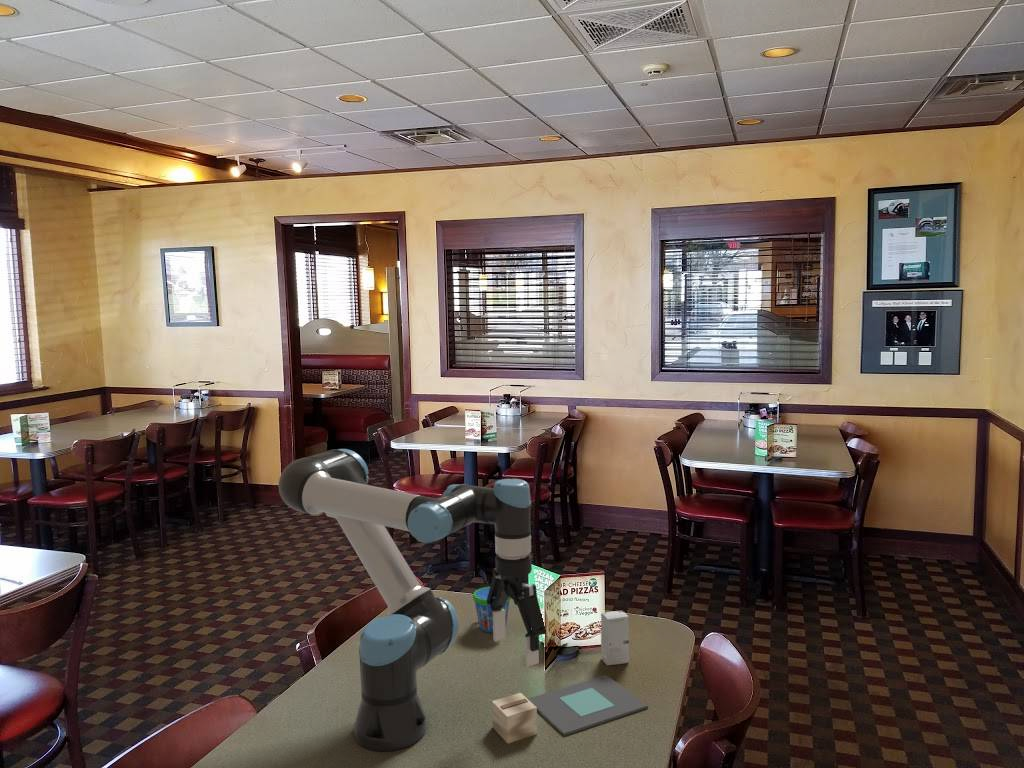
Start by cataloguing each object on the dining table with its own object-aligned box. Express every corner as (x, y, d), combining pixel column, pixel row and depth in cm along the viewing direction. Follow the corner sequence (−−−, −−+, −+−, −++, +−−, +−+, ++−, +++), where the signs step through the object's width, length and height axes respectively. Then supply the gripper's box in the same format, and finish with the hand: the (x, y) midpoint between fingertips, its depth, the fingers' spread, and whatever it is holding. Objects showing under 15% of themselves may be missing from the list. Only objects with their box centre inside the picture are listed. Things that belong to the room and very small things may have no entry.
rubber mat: (564, 736, 156) (564, 732, 156) (526, 701, 170) (526, 698, 170) (647, 707, 167) (647, 705, 167) (606, 677, 181) (606, 674, 181)
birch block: (507, 744, 154) (507, 715, 153) (492, 727, 160) (491, 700, 160) (537, 734, 157) (536, 706, 157) (521, 718, 163) (520, 691, 163)
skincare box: (607, 666, 186) (607, 619, 185) (600, 658, 191) (600, 612, 189) (629, 662, 188) (629, 616, 187) (622, 654, 192) (622, 609, 191)
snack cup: (469, 618, 216) (468, 584, 215) (505, 614, 219) (504, 581, 217) (479, 642, 201) (478, 605, 200) (517, 637, 203) (516, 601, 202)
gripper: (562, 567, 147) (563, 670, 149) (499, 535, 169) (501, 626, 171) (529, 575, 144) (531, 680, 146) (470, 541, 165) (472, 633, 167)
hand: (515, 651), depth 158 cm, fingers open, 13 cm apart
